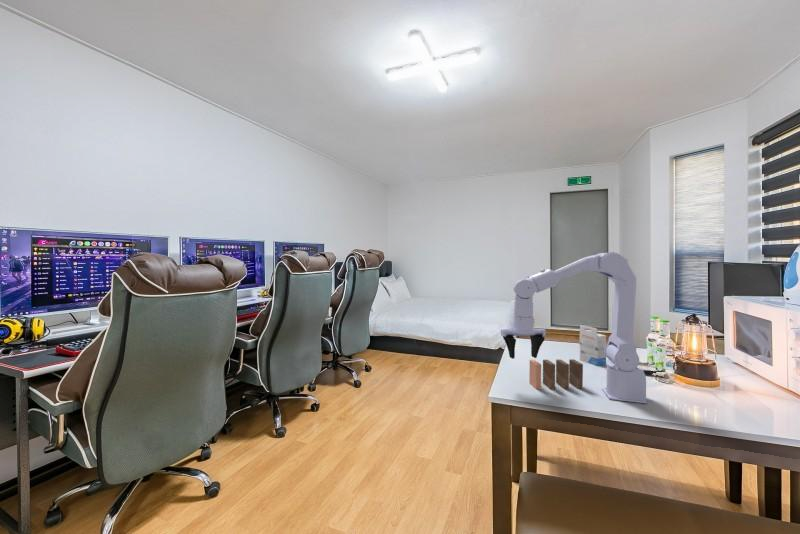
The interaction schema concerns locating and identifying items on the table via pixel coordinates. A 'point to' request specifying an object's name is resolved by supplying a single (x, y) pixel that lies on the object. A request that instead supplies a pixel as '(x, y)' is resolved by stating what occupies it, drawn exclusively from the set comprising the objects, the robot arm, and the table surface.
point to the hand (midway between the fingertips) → (523, 357)
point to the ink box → (592, 346)
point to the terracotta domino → (535, 374)
